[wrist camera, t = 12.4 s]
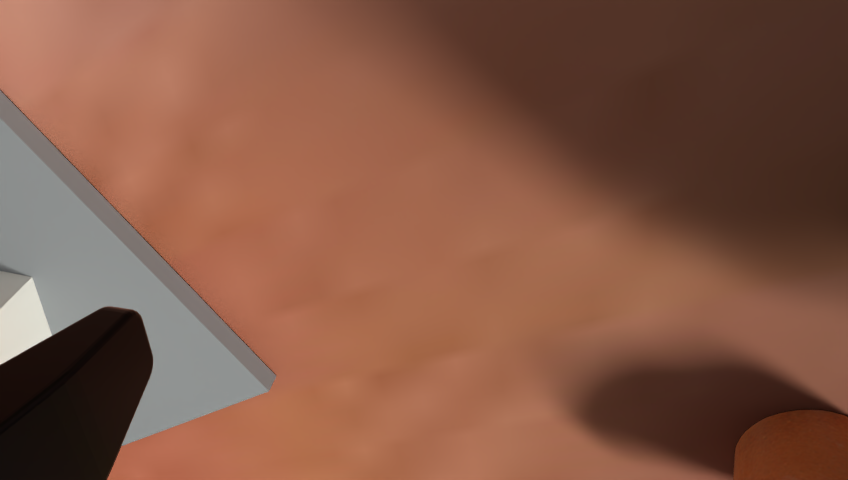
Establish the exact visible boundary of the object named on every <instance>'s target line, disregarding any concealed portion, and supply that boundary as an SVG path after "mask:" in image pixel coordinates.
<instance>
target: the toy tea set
mask: <svg viewBox="0 0 848 480" xmlns="http://www.w3.org/2000/svg"><path fill="white" fill-rule="evenodd" d="M733 480H848V417H847V416H845V415H841V414H838V413H834V412H829V411H823V410H796V411H788V412H783V413H779V414H776V415H773V416H769V417H767V418H765V419H763V420H761V421H759V422H757V423H756V424H754V425H753V426H752V427H750V428H749V429H748V430H747V431H745V433H744V434H743V435H742V437H741V438H740V440H739V442H738V444H737V446H736V450H735V462H734V478H733Z"/></svg>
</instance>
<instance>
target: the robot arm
mask: <svg viewBox="0 0 848 480" xmlns="http://www.w3.org/2000/svg"><path fill="white" fill-rule="evenodd" d="M152 369H153V354H152V350H151V347H150V343H149V340H148V336H147V333H146V330H145V326H144V323H143V319H142V317H141V315H140V314H139V313H138V312H137V311H135V310H132V309H126V308H119V307H113V306H106V307H102V308H100V309H98V310H96V311H95V312H93V313H91V314H89V315H87V316H86V317H84V318H82V319H80V320H79V321H77V322H75V323H73V324H71V325H70V326H68V327H66V328H64V329H63V330H61V331H59V332H57V333H56V334H54V335H52V336H50V337H48V338H47V339H45V340H43V341H41V342H40V343H38V344H36V345H34V346H32V347H31V348H29V349H27V350H25V351H24V352H22V353H20V354H18V355H17V356H15V357H13V358H11V359H9V360H8V361H6V362H4V363H2V364H1V365H0V480H107V478H108V476H109V474H110V472H111V469H112V467H113V465H114V462H115V460H116V458H117V455H118V453H119V451H120V448H121V446H122V443H123V441H124V439H125V436H126V434H127V431H128V429H129V427H130V424H131V422H132V419H133V417H134V415H135V412H136V410H137V407H138V405H139V403H140V400H141V398H142V396H143V393H144V391H145V388H146V386H147V384H148V381H149V379H150V376H151V373H152Z"/></svg>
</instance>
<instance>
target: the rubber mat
mask: <svg viewBox="0 0 848 480" xmlns="http://www.w3.org/2000/svg"><path fill="white" fill-rule="evenodd" d="M0 271H3V272H9V273H14V274H19V275H24V276H29V277H32V278H33V281H34V284H35V287H36V290H37V293H38V296H39V299H40V302H41V305H42V308H43V311H44V314H45V317H46V319H47V322H48V325H49V328H50V331H51V334H52V335H54V334H56V333H57V332H59V331H61V330H63V329H64V328H66V327H68V326H70V325H71V324H73V323H75V322H77V321H79V320H80V319H82V318H84V317H86V316H87V315H89V314H91V313H93V312H95V311H96V310H98V309H100V308H102V307H106V306H113V307H119V308H126V309H132V310H135V311H137V312H138V313H139V314H140V315H141V317H142V319H143V323H144V326H145V330H146V333H147V336H148V340H149V343H150V347H151V350H152V354H153V369H152V373H151V376H150V379H149V381H148V384H147V386H146V388H145V391H144V393H143V396H142V398H141V400H140V403H139V405H138V407H137V410H136V412H135V415H134V417H133V419H132V422H131V424H130V427H129V429H128V431H127V434H126V436H125V439H124V441H123V443H122V446H123V445H125V444H128V443H131V442H134V441H136V440H139V439H142V438H144V437H147V436H150V435H152V434H155V433H158V432H160V431H163V430H166V429H169V428H171V427H174V426H177V425H179V424H182V423H185V422H187V421H190V420H193V419H195V418H198V417H201V416H204V415H206V414H209V413H212V412H214V411H217V410H220V409H222V408H225V407H228V406H230V405H233V404H236V403H239V402H241V401H244V400H247V399H249V398H252V397H255V396H257V395H260V394H263V393H265V392H268V391H269V390H270V388H271V386H272V384H273V382H274V380H275V378H276V375H275V374H274V373H273V372H272V371H271V370H270V369H269V368H268V367H267V366H266V365H265V364H264V363H263V362H262V361H261V360H260V359H259V358H258V357H257V356H256V355H255V354H254V352H253V351H252V350H251V349H250V348H249V347H248V346H247V345H246V344H245V343H244V342H243V341H242V340H241V339H240V338H239V337H238V336H237V335H236V334H235V333H234V332H233V331H232V330H231V329H230V328H229V327H228V326H227V325H226V323H225V322H224V321H223V320H222V319H221V318H220V317H219V316H218V315H217V314H216V313H215V312H214V311H213V310H212V309H211V308H210V307H209V306H208V305H207V304H206V303H205V302H204V301H203V300H202V299H201V298H200V297H199V296H198V294H197V293H196V292H195V291H194V290H193V289H192V288H191V287H190V286H189V285H188V284H187V283H186V282H185V281H184V280H183V279H182V278H181V277H180V276H179V275H178V274H177V273H176V272H175V271H174V270H173V269H172V268H171V267H170V265H169V264H168V263H167V262H166V261H165V260H164V259H163V258H162V257H161V256H160V255H159V254H158V253H157V252H156V251H155V250H154V249H153V248H152V247H151V246H150V245H149V244H148V243H147V242H146V241H145V240H144V239H143V238H142V236H141V235H140V234H139V233H138V232H137V231H136V230H135V229H134V228H133V227H132V226H131V225H130V224H129V223H128V222H127V221H126V220H125V219H124V218H123V217H122V216H121V215H120V214H119V213H118V212H117V211H116V210H115V209H114V207H113V206H112V205H111V204H110V203H109V202H108V201H107V200H106V199H105V198H104V197H103V196H102V195H101V194H100V193H99V192H98V191H97V190H96V189H95V188H94V187H93V186H92V185H91V184H90V183H89V182H88V181H87V180H86V178H85V177H84V176H83V175H82V174H81V173H80V172H79V171H78V170H77V169H76V168H75V167H74V166H73V165H72V164H71V163H70V162H69V161H68V160H67V159H66V158H65V157H64V156H63V155H62V154H61V153H60V152H59V151H58V149H57V148H56V147H55V146H54V145H53V144H52V143H51V142H50V141H49V140H48V139H47V138H46V137H45V136H44V135H43V134H42V133H41V132H40V131H39V130H38V129H37V128H36V127H35V126H34V125H33V124H32V123H31V122H30V120H29V119H28V118H27V117H26V116H25V115H24V114H23V113H22V112H21V111H20V110H19V109H18V108H17V107H16V106H15V105H14V104H13V103H12V102H11V101H10V100H9V99H8V98H7V97H6V96H5V95H4V94H3V93H2V91H1V90H0Z"/></svg>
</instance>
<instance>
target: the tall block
mask: <svg viewBox="0 0 848 480" xmlns="http://www.w3.org/2000/svg"><path fill="white" fill-rule="evenodd" d="M50 336H52V334H51V331H50V328H49V325H48V322H47V319H46V317H45V314H44V311H43V308H42V305H41V302H40V299H39V296H38V293H37V290H36V287H35V284H34V281H33V278H32V277H29V276H24V275H19V274H14V273H9V272H3V271H0V365H1V364H2V363H4V362H6V361H8V360H9V359H11V358H13V357H15V356H17V355H18V354H20V353H22V352H24V351H25V350H27V349H29V348H31V347H32V346H34V345H36V344H38V343H40V342H41V341H43V340H45V339H47V338H48V337H50Z"/></svg>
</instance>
